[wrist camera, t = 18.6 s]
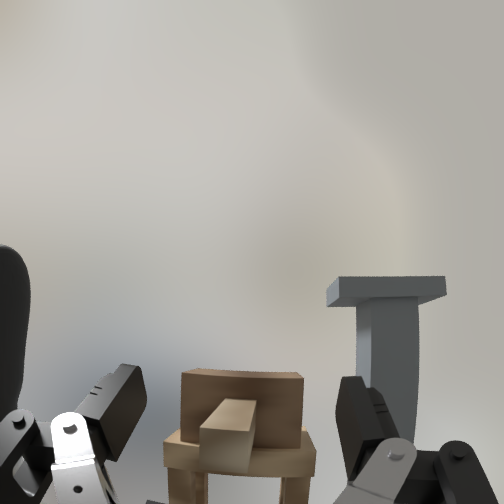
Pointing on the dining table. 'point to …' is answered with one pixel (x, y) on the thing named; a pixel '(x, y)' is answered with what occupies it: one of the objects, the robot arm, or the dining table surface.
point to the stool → (261, 465)
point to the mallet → (239, 414)
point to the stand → (388, 336)
